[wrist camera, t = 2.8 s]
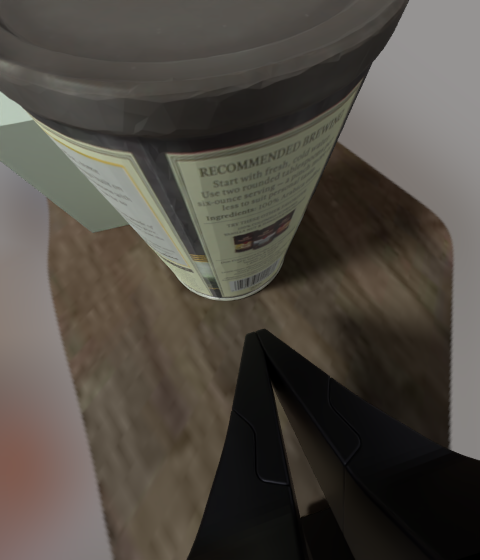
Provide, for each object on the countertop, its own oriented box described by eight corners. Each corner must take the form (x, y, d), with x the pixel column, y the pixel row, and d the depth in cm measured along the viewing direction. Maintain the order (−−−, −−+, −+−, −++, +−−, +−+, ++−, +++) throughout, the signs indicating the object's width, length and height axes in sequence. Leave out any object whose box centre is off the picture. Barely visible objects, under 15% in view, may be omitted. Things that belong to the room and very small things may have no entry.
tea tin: (153, 218, 19) (80, 111, 10) (92, 232, 18) (-37, 132, 10) (146, 172, 21) (78, 47, 12) (90, 184, 20) (-21, 63, 12)
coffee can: (217, 178, 20) (168, -155, 7) (307, 233, 18) (491, -88, 5) (141, 254, 18) (-171, -38, 4) (237, 328, 16) (209, 211, 2)
